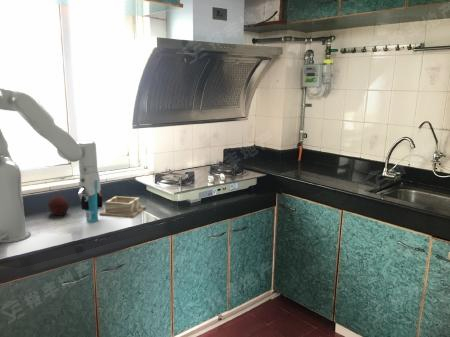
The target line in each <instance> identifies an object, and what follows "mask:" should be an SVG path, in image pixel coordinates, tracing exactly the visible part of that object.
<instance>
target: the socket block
mask: <svg viewBox="0 0 450 337" xmlns="http://www.w3.org/2000/svg"><path fill="white" fill-rule="evenodd" d="M145 209H146V205H141V198H140V197H137V196H121V195H120V196H119V195H115V196H113V197H112V198H110V199H108V200H106V201H105V202H104V210H103V211H100V213H98V214H99V215H98V216H100V217H101V216H102V217H104V216H105V217H117V218H127V219H128V218H131V219H133V218H135V217H136V216H137V215H139V214H140V213H141V212H143V211H145Z"/></svg>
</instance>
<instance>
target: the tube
mask: <svg viewBox="0 0 450 337" xmlns="http://www.w3.org/2000/svg"><path fill="white" fill-rule="evenodd" d="M97 184H98V180H96V181H95V194H94V195H92V196H89V197H88V200H87V201H88V203H89V210H84V213H85V220H86V222H87V223H96V222H98V221H99V217H98V216H99V215H98V214H99V213H98V210H99V209H98V208H97ZM84 197H85V198H86V196H84Z"/></svg>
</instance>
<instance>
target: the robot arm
mask: <svg viewBox="0 0 450 337" xmlns="http://www.w3.org/2000/svg"><path fill="white" fill-rule="evenodd" d="M0 110H1V111H2V110H3V111H9V112H17V113H18V114H19V115H20V116H21V117H22V118H23V119H24V121H26V122H27V123H28V124H29V126H30V127H31V128H32V129H33V130H34V131H35V133H37V134H38V135H39V136H41V137H42V138H43V139H44V140H47V141H48V142H49V143H50V144H51V145H52V146H54V147H55V148H56V152H57V154H58V156H59V157H60V158H62V159H64V160H66V161H68V162H70V163H77V162H78V169H79V191H78V193H77V196H78V198H79V201H80V204H81V205H80V206H81V210H83V211H85V210H89V203H88V201H87V200H88V197H89V196H92V195H94V194H95V181H96V180H98V184H97V203H100V190H101V191H102V188H101V187H102V186H101V185H102V183H101V180H100V178H101V177H100V174H99V171H98V159H97V157H98V156H97V146H96V142H95V141H92V140H81V141H76V140H75V139H74V138H73V137H72V135H70V133H69V132H68V131H67V130H65V128H64V127H63V126H61V124H60V123H59V122H58V121H57V120H56V119H55V118H54V117H53V116H52V115H51V114H50V113H49V112H48V110H46V108H45V107H44V106H43V105H42V104H41V103H40V102H39V101H38V99H36V97H35V96H34V95H33V94H32V93H30V91H26V90H16V89H9V88H2V87H0ZM8 147H9V146H8V141H7V140H6V139H5V136H4V134H3V132H2V130H1V129H0V243H3V244H4V243H5V244H7V243H14V242H20V241H22V240H26V239H27V238H29V237H30V236H31V230H30V229H27V227H26V219H25V210H24V209H25V208H24V198H23V191H22V174H21V173H22V171H21V169H20V166H19V165H18V164H17V163H16V162H14V161H13V158H12V156H11V155H10V154H11V153H10V152H9V148H8ZM84 196H86V198H85V197H84Z"/></svg>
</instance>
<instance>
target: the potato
mask: <svg viewBox="0 0 450 337" xmlns="http://www.w3.org/2000/svg"><path fill="white" fill-rule="evenodd" d="M47 206H48V209H49V212H50V213H52V214H53V215H56V216H63V215H65V214H66V213H67V212H68V210H69V208H70V207H69V202H68V200H67V198H66V197H64V195H53V196H52V197H51V198H50V199H49V200H48V203H47Z"/></svg>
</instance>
